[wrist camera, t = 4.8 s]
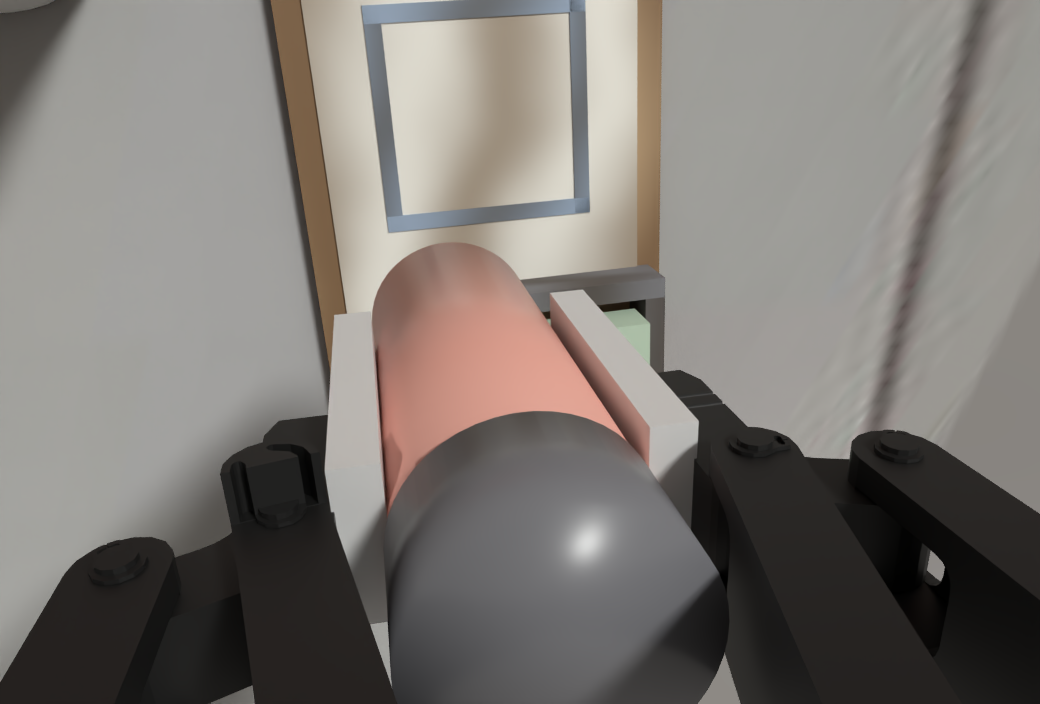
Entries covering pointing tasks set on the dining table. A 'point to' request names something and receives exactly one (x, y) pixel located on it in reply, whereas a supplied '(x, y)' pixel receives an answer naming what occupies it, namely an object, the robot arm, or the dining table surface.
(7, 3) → the mug
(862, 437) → the robot arm
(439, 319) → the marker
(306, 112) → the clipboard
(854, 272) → the dining table surface
